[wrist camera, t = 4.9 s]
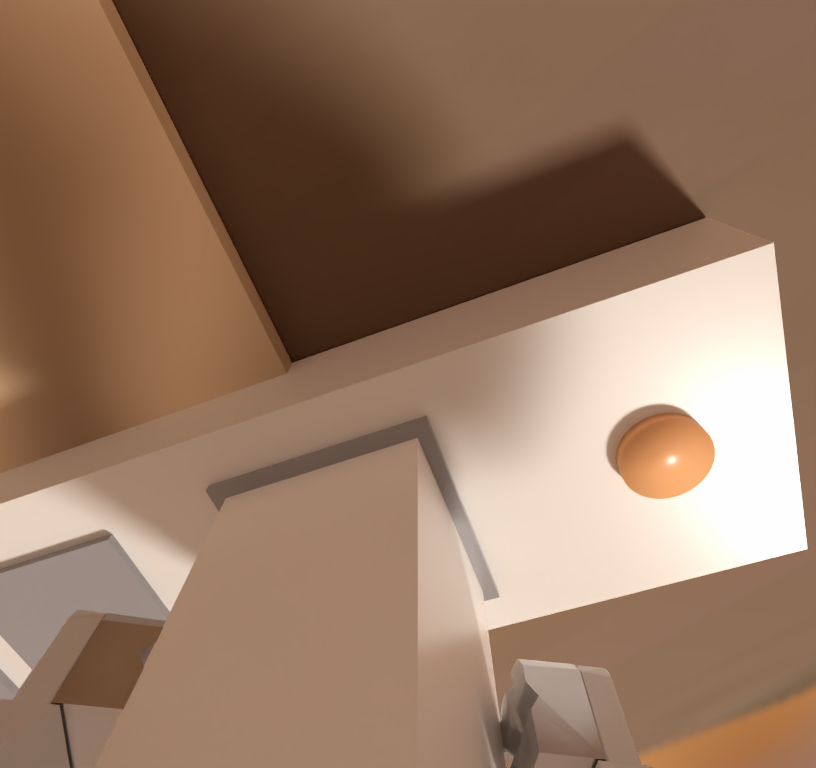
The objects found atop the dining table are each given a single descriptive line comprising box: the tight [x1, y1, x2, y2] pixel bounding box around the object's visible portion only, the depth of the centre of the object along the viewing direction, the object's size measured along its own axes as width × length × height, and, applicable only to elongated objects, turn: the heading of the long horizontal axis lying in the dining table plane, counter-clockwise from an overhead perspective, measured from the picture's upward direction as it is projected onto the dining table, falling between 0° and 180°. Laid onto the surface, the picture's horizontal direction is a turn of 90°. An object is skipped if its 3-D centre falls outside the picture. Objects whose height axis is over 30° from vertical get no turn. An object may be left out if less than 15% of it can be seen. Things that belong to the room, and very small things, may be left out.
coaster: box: [0, 0, 292, 473], centre depth 13 cm, size 9×9×1 cm
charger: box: [94, 438, 506, 768], centre depth 9 cm, size 4×4×8 cm
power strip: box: [0, 217, 807, 700], centre depth 15 cm, size 30×7×3 cm, turn 111°
